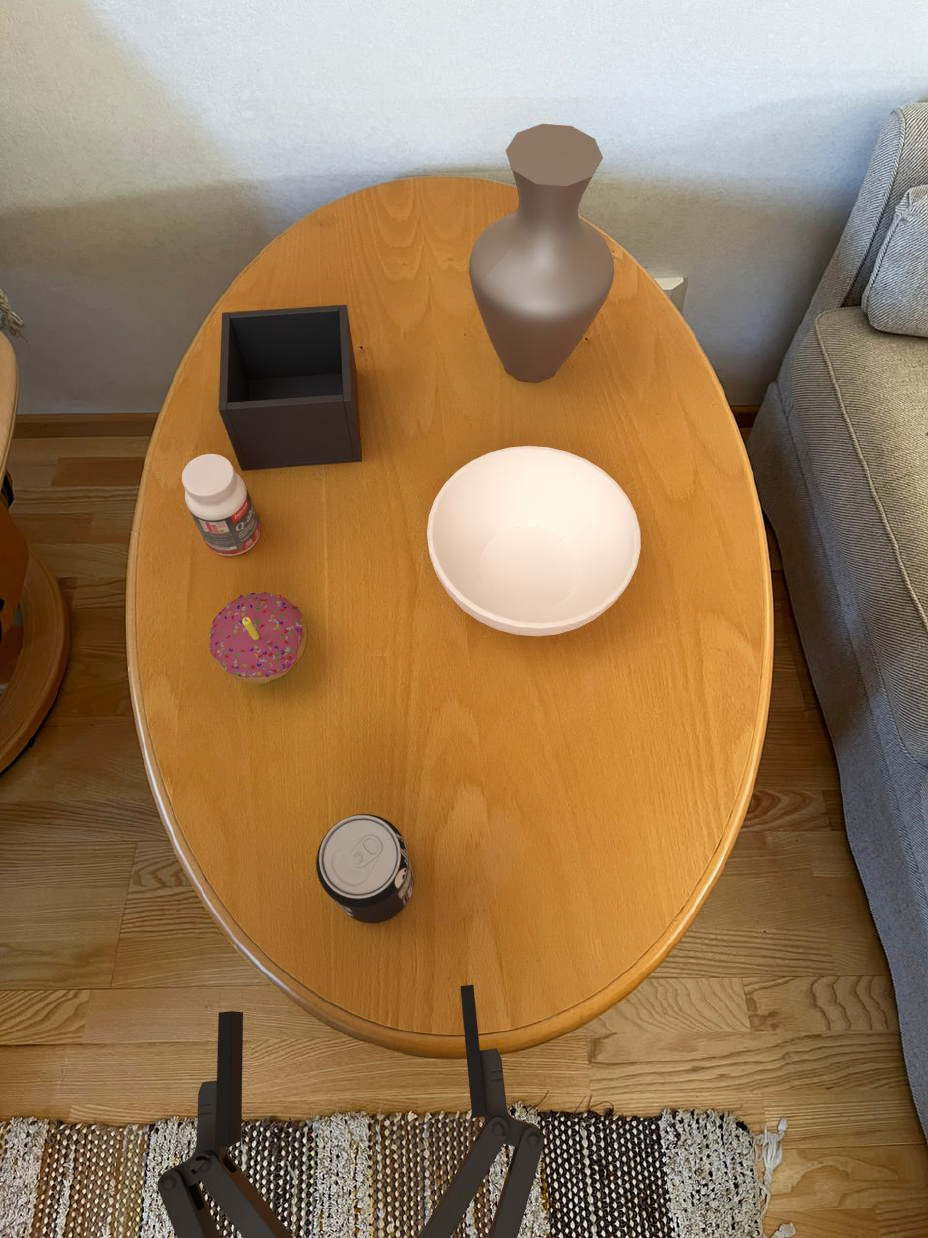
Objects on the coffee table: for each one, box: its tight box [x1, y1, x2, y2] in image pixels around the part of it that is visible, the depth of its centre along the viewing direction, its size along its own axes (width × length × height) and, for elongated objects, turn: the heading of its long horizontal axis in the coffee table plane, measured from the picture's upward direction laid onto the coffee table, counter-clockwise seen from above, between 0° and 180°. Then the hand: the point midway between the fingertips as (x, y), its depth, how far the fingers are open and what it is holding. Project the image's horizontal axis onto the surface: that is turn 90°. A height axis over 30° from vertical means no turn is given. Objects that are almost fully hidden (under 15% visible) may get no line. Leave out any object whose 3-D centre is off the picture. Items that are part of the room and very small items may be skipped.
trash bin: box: [218, 304, 363, 471], centre depth 87 cm, size 13×13×10 cm
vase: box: [468, 123, 615, 383], centre depth 84 cm, size 14×14×25 cm
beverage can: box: [315, 813, 415, 924], centre depth 64 cm, size 7×7×12 cm
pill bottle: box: [181, 453, 261, 557], centre depth 80 cm, size 6×6×10 cm
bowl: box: [426, 445, 642, 637], centre depth 80 cm, size 20×20×7 cm
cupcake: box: [208, 591, 308, 684], centre depth 73 cm, size 9×8×12 cm
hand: (349, 998), depth 48 cm, fingers open, 13 cm apart
